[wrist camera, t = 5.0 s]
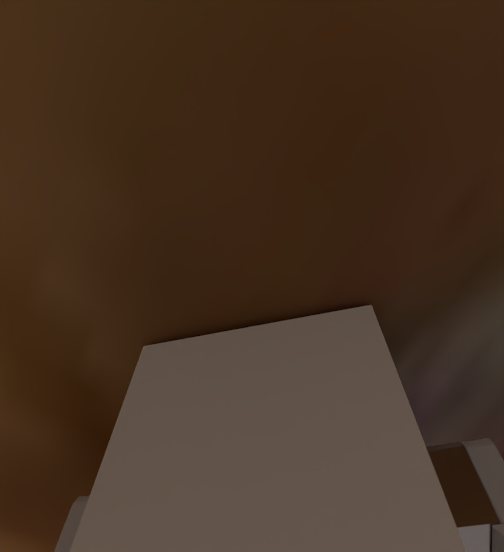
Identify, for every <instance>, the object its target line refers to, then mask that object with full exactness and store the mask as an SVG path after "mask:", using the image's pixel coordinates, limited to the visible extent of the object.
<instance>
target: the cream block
mask: <svg viewBox="0 0 504 552" xmlns="http://www.w3.org/2000/svg"><path fill="white" fill-rule="evenodd" d="M70 552H466V550H465V547H464V545H463V542H462V540H461V537H460V534H459V532H458V529H457V526H456V524H455V521H454V519H453V516H452V513H451V511H450V508H449V506H448V503H447V500H446V498H445V495H444V493H443V490H442V487H441V485H440V482H439V480H438V477H437V474H436V472H435V469H434V466H433V464H432V461H431V459H430V456H429V453H428V451H427V448H426V446H425V443H424V440H423V438H422V435H421V433H420V430H419V427H418V425H417V422H416V420H415V417H414V414H413V412H412V409H411V407H410V404H409V401H408V399H407V396H406V393H405V391H404V388H403V386H402V383H401V380H400V378H399V375H398V373H397V370H396V367H395V365H394V362H393V360H392V357H391V354H390V352H389V349H388V347H387V344H386V341H385V339H384V336H383V333H382V331H381V328H380V326H379V323H378V320H377V318H376V315H375V313H374V310H373V307H372V305H367V306H362V307H356V308H351V309H345V310H340V311H334V312H329V313H323V314H318V315H312V316H307V317H301V318H296V319H290V320H285V321H279V322H274V323H268V324H263V325H257V326H252V327H246V328H241V329H235V330H230V331H224V332H219V333H213V334H208V335H202V336H197V337H191V338H186V339H180V340H175V341H169V342H164V343H158V344H153V345H147V346H143V349H142V351H141V354H140V357H139V360H138V362H137V365H136V368H135V371H134V374H133V376H132V379H131V382H130V385H129V388H128V390H127V393H126V396H125V399H124V401H123V404H122V407H121V410H120V413H119V415H118V418H117V421H116V424H115V427H114V429H113V432H112V435H111V438H110V440H109V443H108V446H107V449H106V452H105V454H104V457H103V460H102V463H101V466H100V468H99V471H98V474H97V477H96V479H95V482H94V485H93V488H92V491H91V493H90V496H89V499H88V502H87V505H86V507H85V510H84V513H83V516H82V518H81V521H80V524H79V527H78V530H77V532H76V535H75V538H74V541H73V543H72V546H71V549H70Z"/></svg>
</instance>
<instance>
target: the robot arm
mask: <svg viewBox="0 0 504 552" xmlns="http://www.w3.org/2000/svg"><path fill="white" fill-rule="evenodd" d="M426 448H427V451H428V453H429V456H430V459H431V461H432V464H433V466H434V469H435V472H436V474H437V477H438V480H439V482H440V485H441V487H442V490H443V493H444V495H445V498H446V500H447V503H448V506H449V508H450V511H451V513H452V516H453V519H454V521H455V524H456V526H457V529H458V532H459V534H460V537H461V540H462V542H463V545H464V547H465V550H466V552H504V460H503V459H502V457H501V455H500V453H499V451H498V449H497V448H496V446H495V444H494V442H492V441H491V440H490V439H489V438H486V439H479V440H472V441H466V442H461V443H459V442H455V443H448V444H442V445H436V446H429V447H426ZM89 496H90V495H87V496H79V497H78V498H77V499H76V501H75V502H74V503H73V504H72V506H71V509H70V511H69V514H68V517H67V519H66V522H65V524H64V527H63V529H62V532H61V534H60V537H59V540H58V542H57V545H56V547H55V550H54V552H70V549H71V546H72V543H73V541H74V538H75V535H76V532H77V530H78V527H79V524H80V521H81V518H82V516H83V513H84V510H85V507H86V505H87V502H88V499H89Z"/></svg>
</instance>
